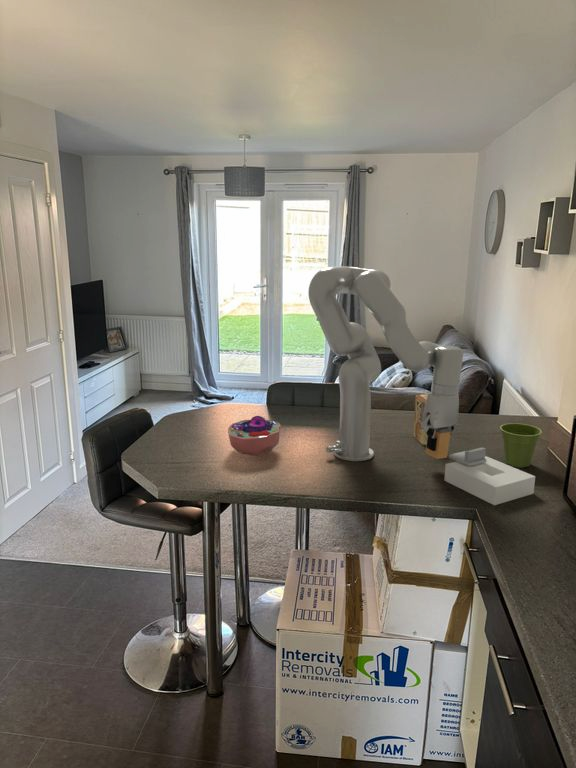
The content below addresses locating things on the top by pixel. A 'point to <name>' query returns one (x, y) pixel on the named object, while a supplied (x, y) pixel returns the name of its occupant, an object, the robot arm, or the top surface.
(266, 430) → the cell model
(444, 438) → the tan boxy piece
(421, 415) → the candy box
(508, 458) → the plant pot
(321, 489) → the top surface
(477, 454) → the grey block
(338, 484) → the top surface
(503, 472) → the socket
